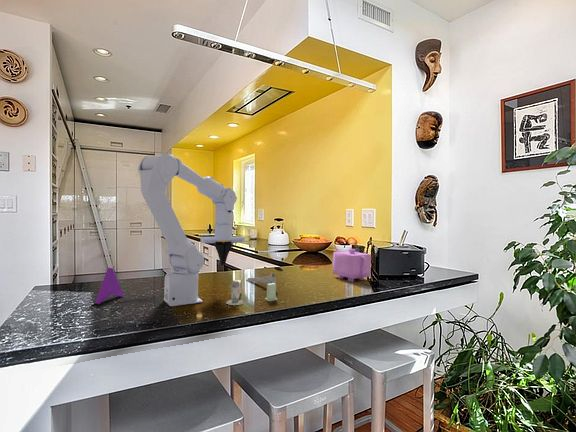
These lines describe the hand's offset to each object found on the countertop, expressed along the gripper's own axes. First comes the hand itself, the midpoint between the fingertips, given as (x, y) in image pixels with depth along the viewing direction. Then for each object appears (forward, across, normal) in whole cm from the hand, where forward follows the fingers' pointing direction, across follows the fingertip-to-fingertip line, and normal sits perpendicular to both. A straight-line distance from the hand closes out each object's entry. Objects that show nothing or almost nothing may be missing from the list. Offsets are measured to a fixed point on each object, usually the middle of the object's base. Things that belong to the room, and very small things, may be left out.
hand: (222, 264), depth 112 cm
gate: (+9, +3, -7) cm, 12 cm away
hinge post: (+9, +1, -14) cm, 17 cm away
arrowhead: (+10, -33, +1) cm, 35 cm away
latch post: (+9, +12, -14) cm, 21 cm away
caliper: (+10, +15, +6) cm, 19 cm away
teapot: (+10, +56, +8) cm, 57 cm away
